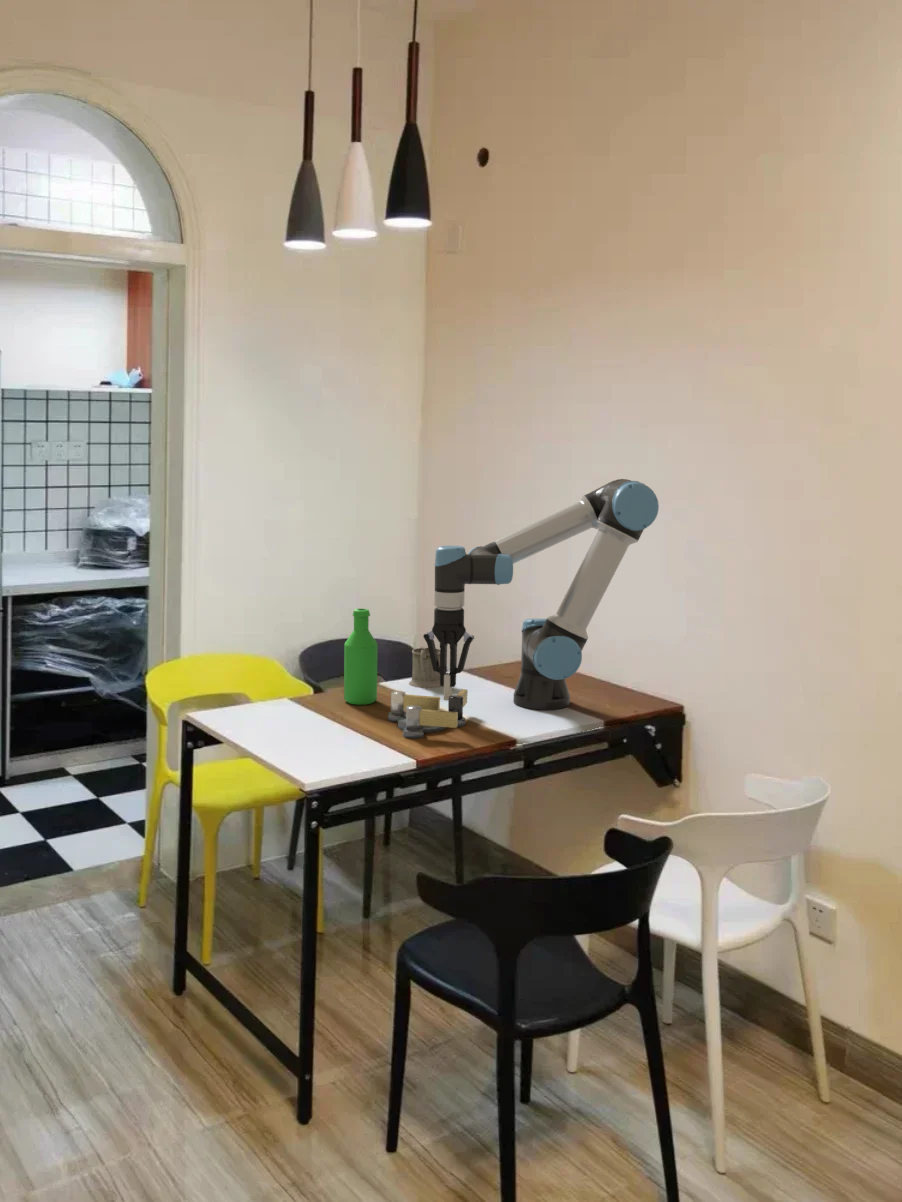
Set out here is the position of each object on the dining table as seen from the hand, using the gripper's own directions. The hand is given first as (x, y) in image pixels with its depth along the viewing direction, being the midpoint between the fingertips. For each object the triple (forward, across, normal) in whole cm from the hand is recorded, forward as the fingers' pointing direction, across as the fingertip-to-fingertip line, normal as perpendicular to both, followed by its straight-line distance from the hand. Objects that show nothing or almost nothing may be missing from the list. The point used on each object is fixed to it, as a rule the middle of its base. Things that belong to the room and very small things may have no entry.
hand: (447, 698), depth 288 cm
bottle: (+5, +26, -8) cm, 28 cm away
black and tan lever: (+3, -3, +2) cm, 5 cm away
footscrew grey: (+3, -1, +19) cm, 19 cm away
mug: (+5, +14, -31) cm, 34 cm away
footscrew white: (+3, +7, +6) cm, 10 cm away
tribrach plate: (+5, +4, +12) cm, 14 cm away
